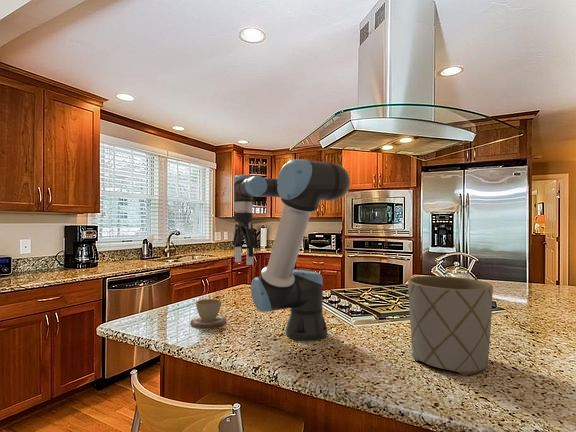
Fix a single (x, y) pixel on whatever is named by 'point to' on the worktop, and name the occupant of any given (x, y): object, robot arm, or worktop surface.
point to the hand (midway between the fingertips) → (243, 263)
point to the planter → (450, 322)
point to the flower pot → (208, 309)
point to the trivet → (208, 322)
